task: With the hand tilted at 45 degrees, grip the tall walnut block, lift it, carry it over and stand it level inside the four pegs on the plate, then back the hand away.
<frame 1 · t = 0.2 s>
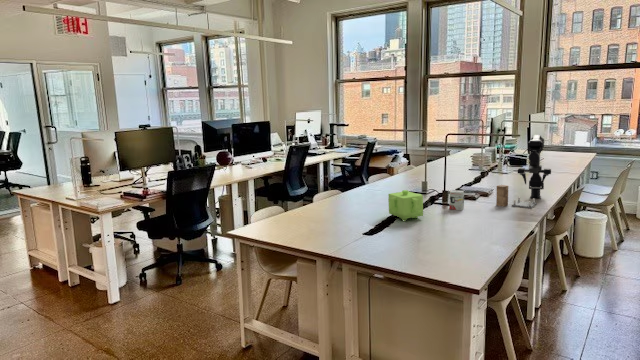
hand: (533, 184, 279), 14 cm above the table, tool pointing down, fingers open, 9 cm apart
ink box: (456, 209, 287), on the table
walnut block: (502, 205, 290), on the table
peg plate: (524, 205, 287), on the table
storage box: (405, 218, 272), on the table
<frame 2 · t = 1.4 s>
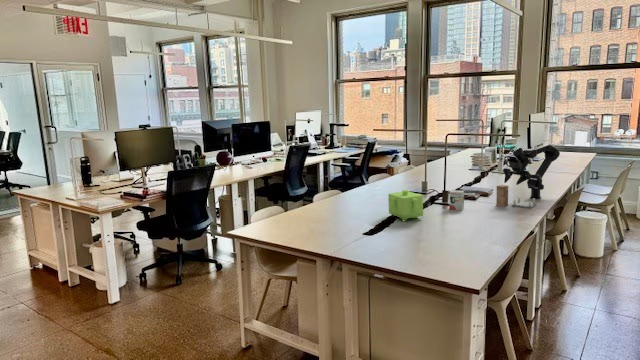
hand: (510, 183, 292), 13 cm above the table, tool tilted 45°, fingers open, 9 cm apart
nothing on the table moved.
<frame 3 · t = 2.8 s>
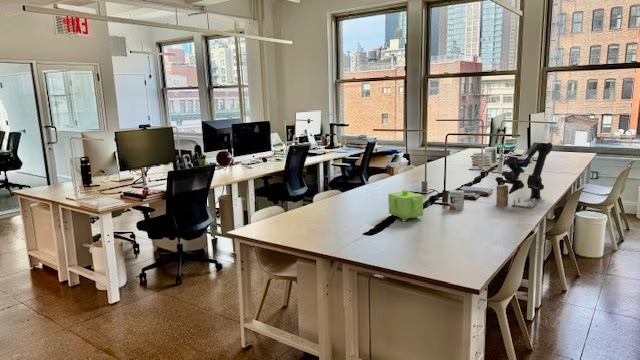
hand: (503, 192, 289), 8 cm above the table, tool tilted 45°, fingers open, 9 cm apart
nothing on the table moved.
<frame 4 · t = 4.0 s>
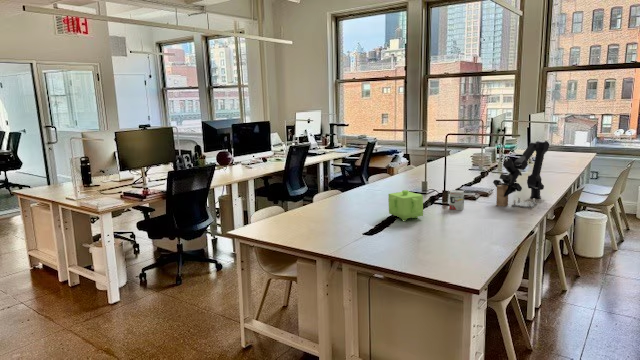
hand: (500, 195, 288), 7 cm above the table, tool tilted 45°, fingers closed on walnut block, 5 cm apart
walnut block: (502, 205, 290), on the table, touching gripper
everything else where it was.
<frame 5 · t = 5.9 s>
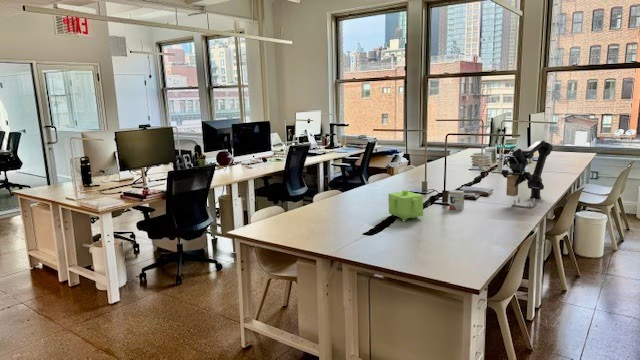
hand: (511, 185, 285), 13 cm above the table, tool tilted 45°, fingers closed on walnut block, 5 cm apart
walnut block: (512, 195, 287), point 7 cm above the table, touching gripper
everything else where it was.
when the fingers open (9 cm above the table, at t = 7.9 s): walnut block drops 1 cm, resting on peg plate.
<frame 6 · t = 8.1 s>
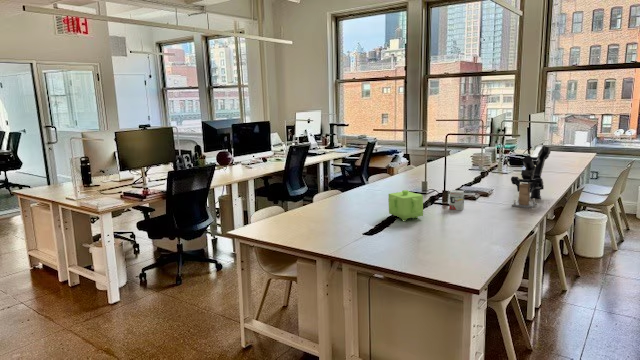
hand: (523, 192, 284), 9 cm above the table, tool tilted 45°, fingers open, 7 cm apart
walnut block: (524, 203, 287), point 1 cm above the table, touching peg plate
everything else where it was.
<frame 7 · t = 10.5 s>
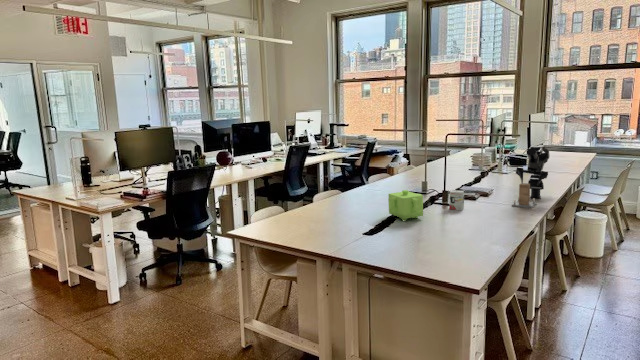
hand: (529, 184, 288), 13 cm above the table, tool tilted 35°, fingers open, 9 cm apart
nothing on the table moved.
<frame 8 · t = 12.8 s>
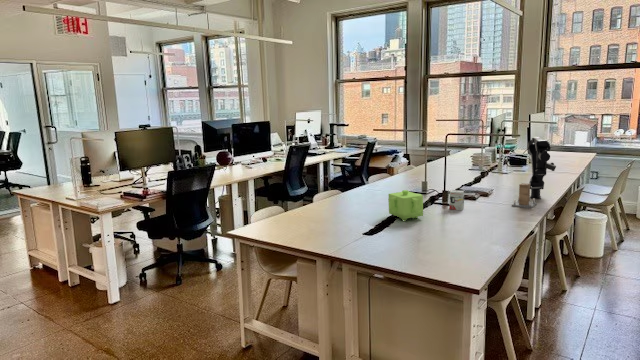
hand: (540, 182, 290), 13 cm above the table, tool pointing down, fingers open, 9 cm apart
nothing on the table moved.
at the end: walnut block 0.0 cm off-centre on the peg plate, point 1.0 cm above the peg plate's base; walnut block tilted 0°; the gripper is holding nothing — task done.
